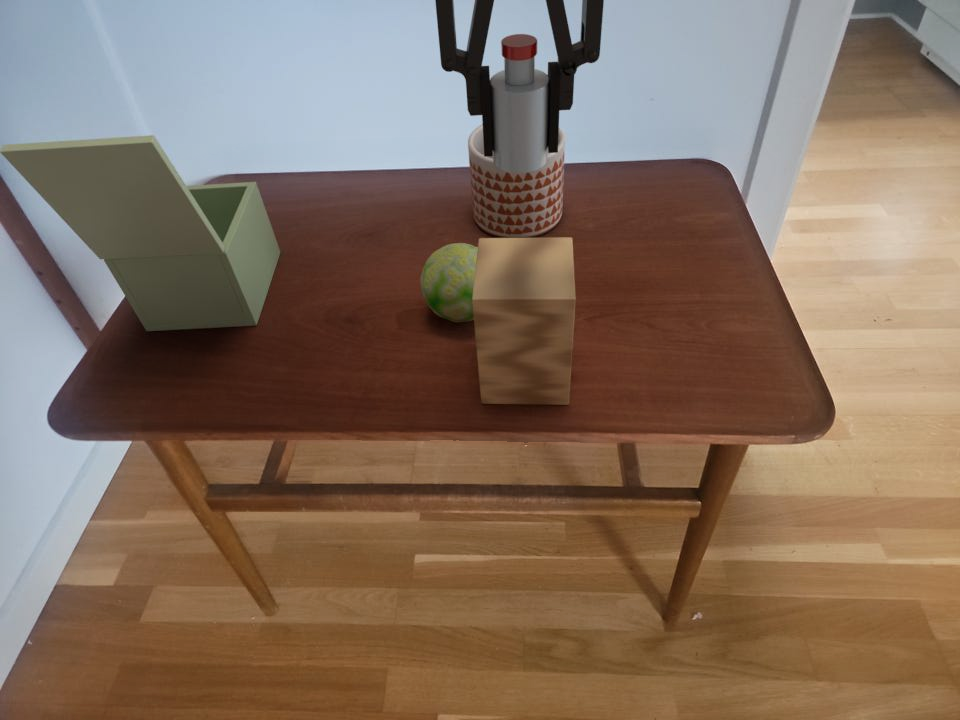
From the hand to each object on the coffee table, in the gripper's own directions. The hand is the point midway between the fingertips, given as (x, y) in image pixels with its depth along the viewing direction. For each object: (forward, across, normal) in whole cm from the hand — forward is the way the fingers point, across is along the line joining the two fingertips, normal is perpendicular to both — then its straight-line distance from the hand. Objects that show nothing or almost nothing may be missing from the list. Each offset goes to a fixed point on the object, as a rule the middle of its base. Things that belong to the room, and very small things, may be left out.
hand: (520, 146), depth 56 cm
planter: (+29, -1, -33) cm, 44 cm away
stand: (+29, 0, 0) cm, 29 cm away
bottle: (+1, 0, 0) cm, 1 cm away
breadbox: (+30, +42, -19) cm, 55 cm away
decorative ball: (+30, +7, -12) cm, 33 cm away
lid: (+9, +42, -9) cm, 44 cm away
